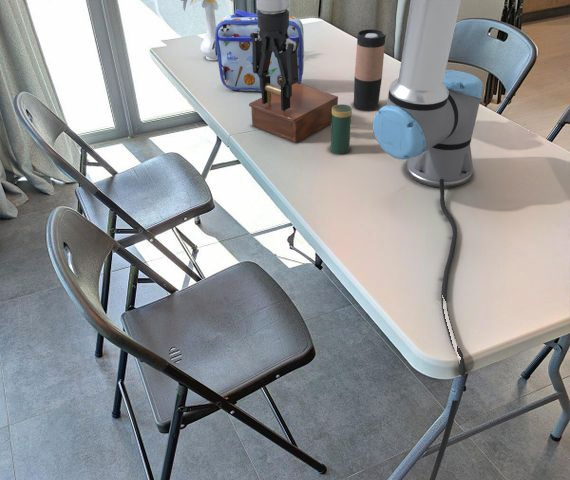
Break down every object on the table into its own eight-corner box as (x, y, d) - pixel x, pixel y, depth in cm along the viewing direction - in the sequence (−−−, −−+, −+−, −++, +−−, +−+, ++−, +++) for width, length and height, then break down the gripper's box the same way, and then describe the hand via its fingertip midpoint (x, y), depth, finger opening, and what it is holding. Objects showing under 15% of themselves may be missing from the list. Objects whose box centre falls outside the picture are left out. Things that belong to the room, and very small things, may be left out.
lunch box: (214, 93, 168) (205, 16, 153) (220, 80, 175) (213, 6, 161) (302, 94, 165) (303, 17, 150) (305, 81, 173) (305, 6, 158)
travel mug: (348, 108, 157) (352, 35, 144) (358, 98, 162) (363, 27, 149) (373, 113, 155) (380, 39, 141) (382, 103, 160) (390, 31, 146)
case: (295, 143, 142) (295, 121, 138) (252, 126, 150) (251, 105, 146) (337, 119, 152) (338, 99, 148) (294, 105, 160) (294, 85, 156)
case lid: (293, 122, 138) (293, 96, 133) (249, 106, 146) (247, 81, 141) (338, 99, 148) (339, 74, 143) (294, 85, 156) (293, 60, 151)
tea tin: (341, 156, 136) (343, 114, 129) (326, 150, 139) (327, 109, 131) (353, 149, 139) (356, 107, 132) (338, 143, 141) (339, 102, 134)
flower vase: (184, 55, 193) (172, -24, 176) (234, 49, 197) (228, -29, 180) (190, 68, 184) (179, -14, 167) (243, 61, 188) (237, -20, 171)
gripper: (314, 13, 124) (313, 110, 139) (254, -1, 133) (259, 91, 149) (293, 21, 119) (294, 120, 135) (232, 6, 129) (240, 100, 144)
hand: (276, 105), depth 142 cm, fingers closed on case lid, 6 cm apart
